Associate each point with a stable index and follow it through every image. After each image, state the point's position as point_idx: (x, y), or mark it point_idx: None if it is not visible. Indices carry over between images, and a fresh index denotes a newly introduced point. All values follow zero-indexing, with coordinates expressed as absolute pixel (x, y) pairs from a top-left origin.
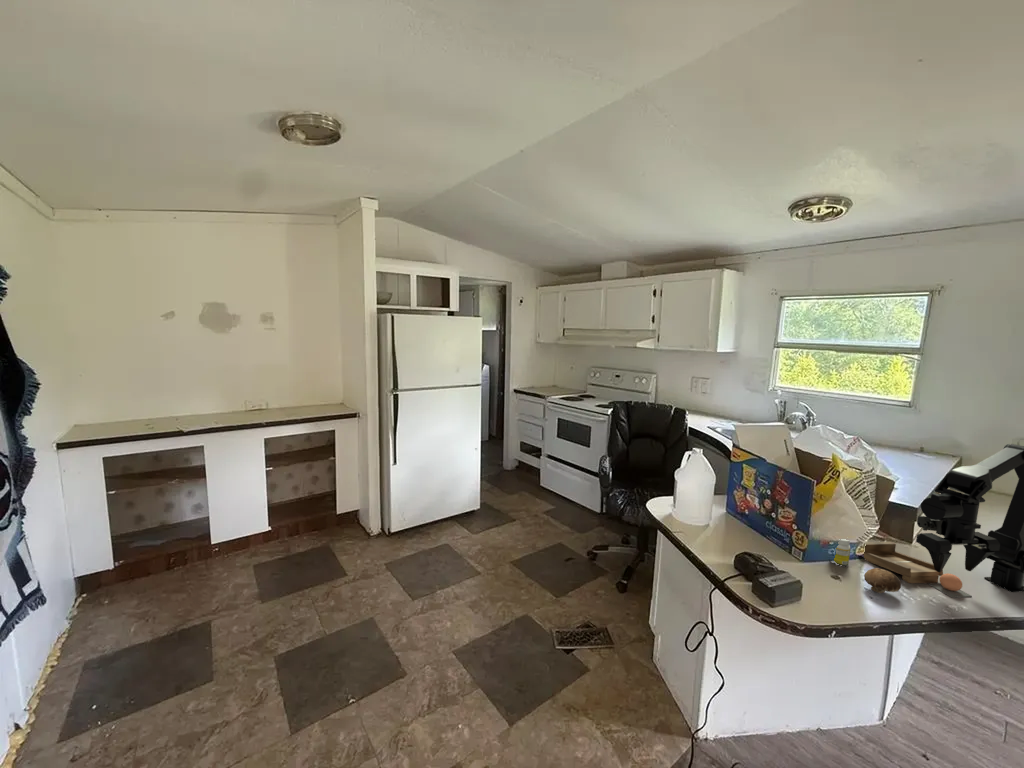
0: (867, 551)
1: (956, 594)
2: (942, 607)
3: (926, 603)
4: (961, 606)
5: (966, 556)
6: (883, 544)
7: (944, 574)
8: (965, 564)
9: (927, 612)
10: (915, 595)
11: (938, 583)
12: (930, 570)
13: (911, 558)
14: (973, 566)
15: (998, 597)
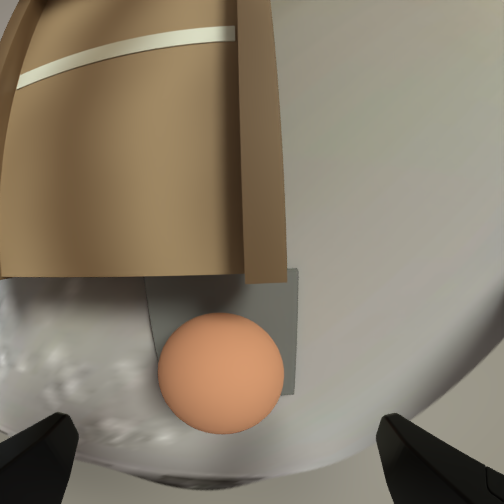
0: None
1: None
2: (73, 421)
3: (34, 393)
4: (156, 434)
5: (454, 497)
6: None
7: (181, 378)
8: (400, 446)
9: (18, 419)
10: (22, 347)
11: (219, 276)
12: (179, 245)
13: (238, 15)
14: (390, 493)
15: (426, 373)
